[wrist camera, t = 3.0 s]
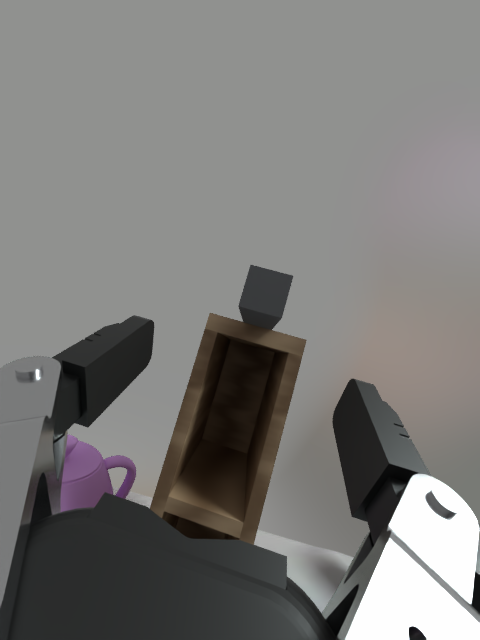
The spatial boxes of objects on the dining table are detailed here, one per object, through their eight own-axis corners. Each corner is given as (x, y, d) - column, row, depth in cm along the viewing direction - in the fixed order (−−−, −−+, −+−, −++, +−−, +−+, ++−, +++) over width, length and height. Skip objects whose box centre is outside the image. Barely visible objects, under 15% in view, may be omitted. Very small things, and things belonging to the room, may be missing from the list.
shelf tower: (223, 574, 33) (284, 344, 37) (199, 753, 19) (306, 340, 22) (160, 551, 34) (226, 328, 38) (89, 705, 19) (209, 312, 23)
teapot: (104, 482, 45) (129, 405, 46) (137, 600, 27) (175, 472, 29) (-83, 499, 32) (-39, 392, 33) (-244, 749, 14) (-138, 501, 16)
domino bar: (263, 339, 38) (268, 322, 38) (281, 318, 14) (293, 274, 15) (247, 334, 38) (252, 317, 39) (238, 306, 15) (251, 263, 15)
